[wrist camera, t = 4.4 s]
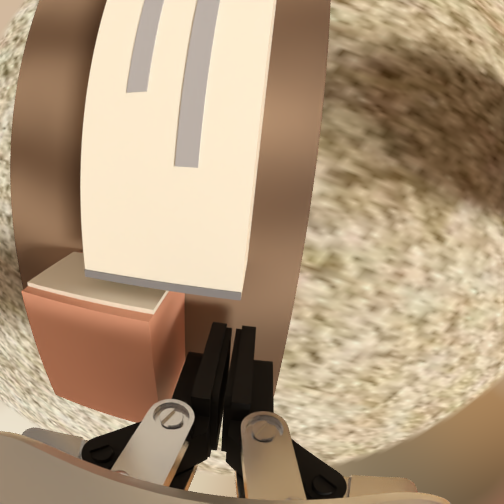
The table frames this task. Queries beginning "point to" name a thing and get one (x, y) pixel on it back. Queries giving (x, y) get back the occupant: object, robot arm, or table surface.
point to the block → (106, 338)
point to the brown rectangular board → (268, 172)
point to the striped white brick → (174, 142)
